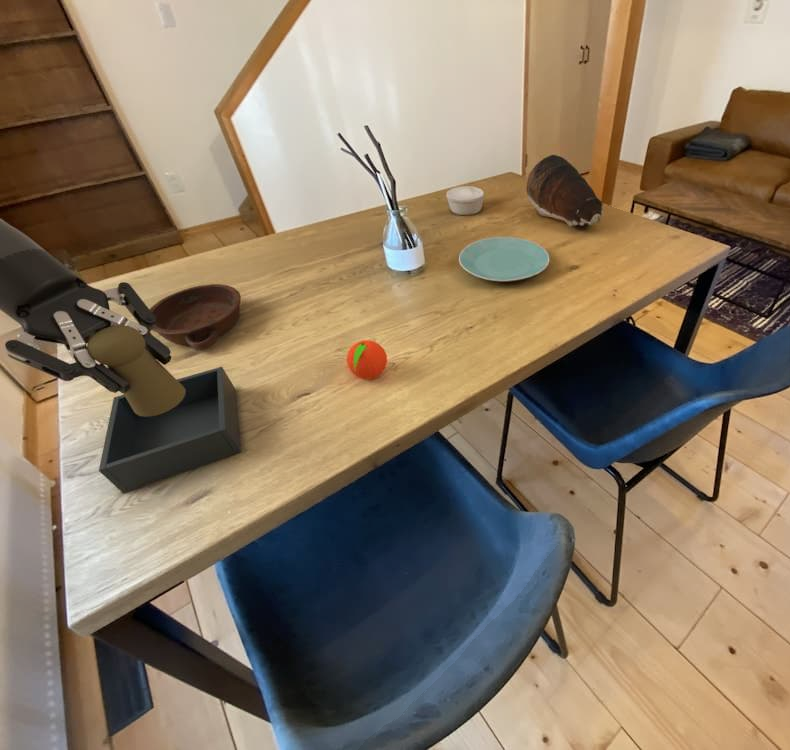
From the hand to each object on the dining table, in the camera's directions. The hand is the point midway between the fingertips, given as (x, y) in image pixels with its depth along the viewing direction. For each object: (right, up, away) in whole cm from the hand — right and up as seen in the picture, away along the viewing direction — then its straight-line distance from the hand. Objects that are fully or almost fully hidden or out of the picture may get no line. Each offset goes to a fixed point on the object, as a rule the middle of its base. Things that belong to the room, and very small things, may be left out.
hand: (148, 374), depth 53 cm
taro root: (+63, +45, +75) cm, 108 cm away
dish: (-19, +10, +39) cm, 44 cm away
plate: (+44, +27, +55) cm, 75 cm away
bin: (-7, -10, +16) cm, 20 cm away
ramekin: (+33, +51, +81) cm, 101 cm away
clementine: (+20, 0, +26) cm, 33 cm away
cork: (-2, -3, +4) cm, 6 cm away
